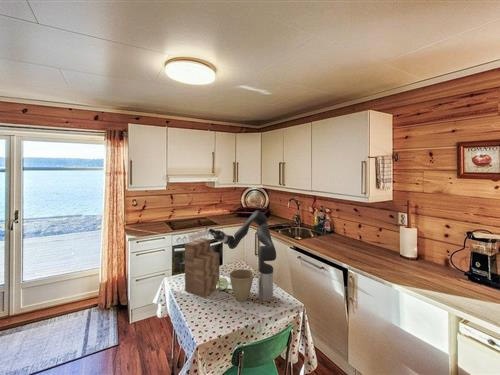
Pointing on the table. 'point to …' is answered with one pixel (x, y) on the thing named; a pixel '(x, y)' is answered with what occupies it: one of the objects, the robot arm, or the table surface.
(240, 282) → the plant pot
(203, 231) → the aluminium bar
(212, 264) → the walnut stand
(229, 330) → the table surface
